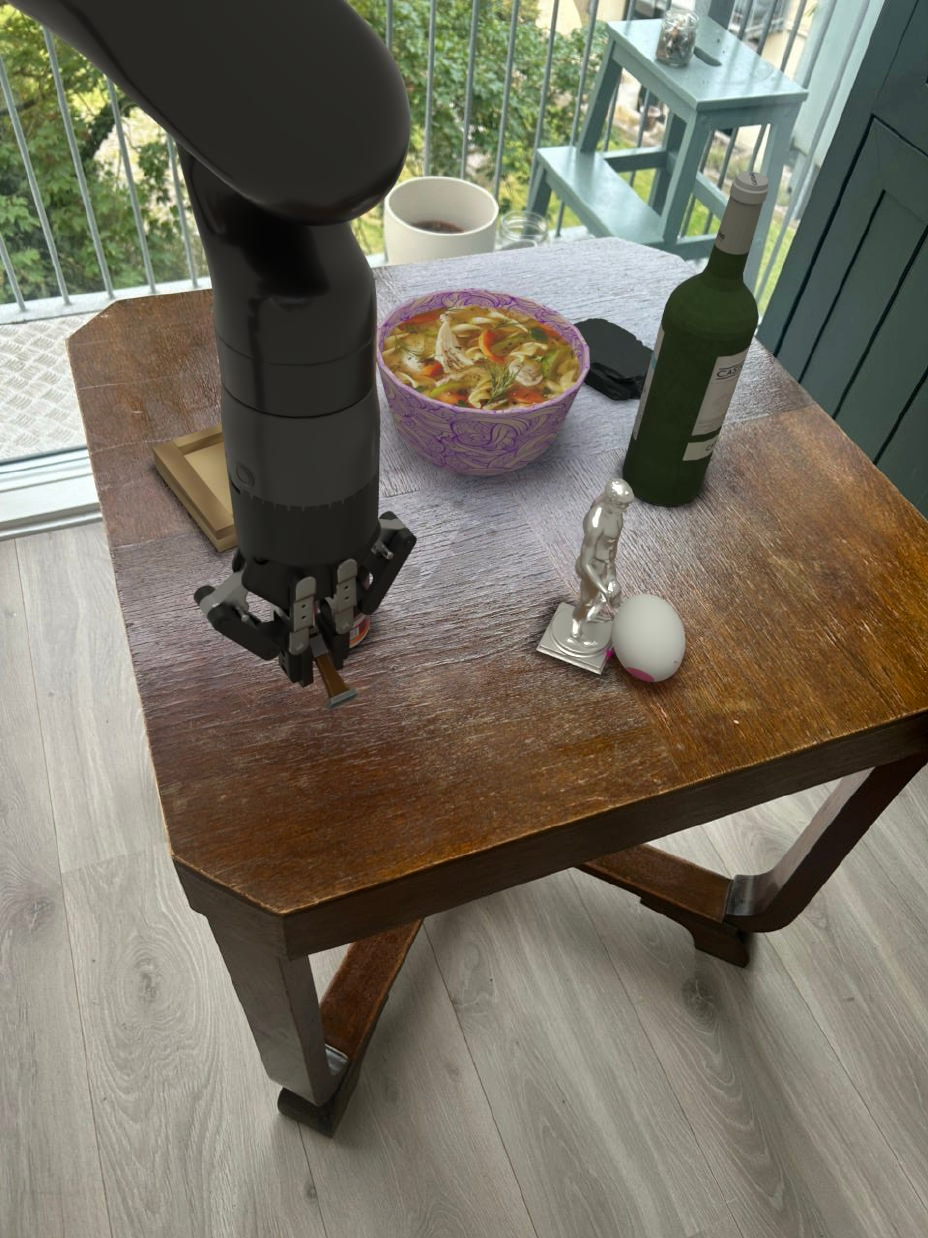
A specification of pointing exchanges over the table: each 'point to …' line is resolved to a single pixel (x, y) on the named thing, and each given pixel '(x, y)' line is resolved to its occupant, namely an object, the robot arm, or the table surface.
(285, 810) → the table surface
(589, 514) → the figurine
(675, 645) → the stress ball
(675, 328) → the wine bottle
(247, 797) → the table surface
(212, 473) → the holder
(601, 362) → the stone
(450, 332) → the bowl of food
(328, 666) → the wooden post with brackets
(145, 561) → the table surface
